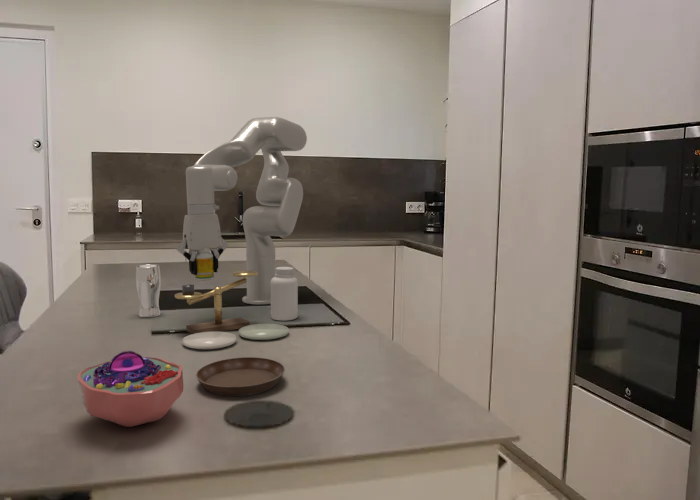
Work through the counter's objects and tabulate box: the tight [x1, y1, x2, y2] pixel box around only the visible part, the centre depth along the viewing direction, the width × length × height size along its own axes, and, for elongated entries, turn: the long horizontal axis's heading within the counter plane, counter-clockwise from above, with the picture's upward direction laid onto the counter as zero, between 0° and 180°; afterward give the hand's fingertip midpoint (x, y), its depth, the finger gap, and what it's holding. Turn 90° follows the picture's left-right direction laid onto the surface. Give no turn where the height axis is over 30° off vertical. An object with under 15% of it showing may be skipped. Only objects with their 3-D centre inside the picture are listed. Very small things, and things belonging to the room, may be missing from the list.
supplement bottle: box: [194, 248, 215, 282], centre depth 172 cm, size 5×5×10 cm
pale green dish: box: [238, 323, 290, 341], centre depth 158 cm, size 13×13×1 cm
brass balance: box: [174, 270, 258, 335], centre depth 163 cm, size 23×7×15 cm, turn 125°
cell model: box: [76, 350, 184, 428], centre depth 103 cm, size 17×20×11 cm
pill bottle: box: [270, 266, 299, 322], centre depth 176 cm, size 8×8×15 cm
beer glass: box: [135, 263, 162, 319], centre depth 178 cm, size 7×7×15 cm
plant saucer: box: [195, 356, 286, 397], centre depth 122 cm, size 18×18×3 cm
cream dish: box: [182, 331, 237, 351], centre depth 150 cm, size 13×13×1 cm
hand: (204, 272), depth 172 cm, fingers closed on supplement bottle, 5 cm apart
